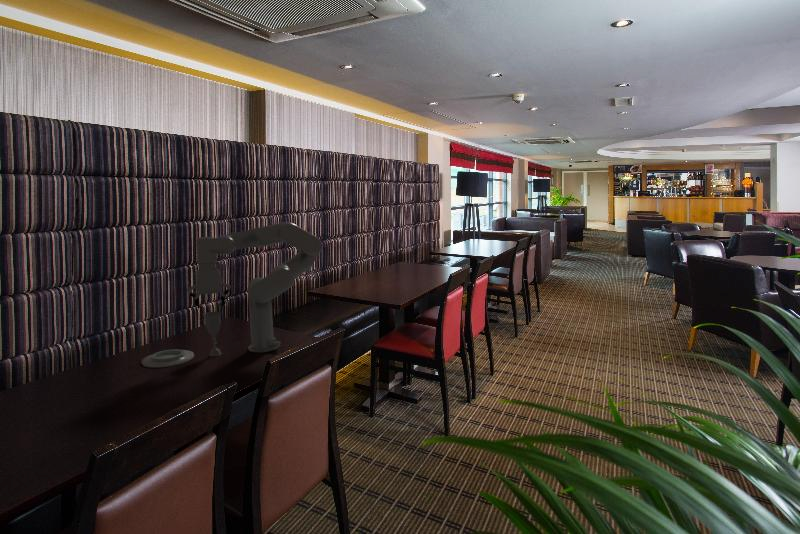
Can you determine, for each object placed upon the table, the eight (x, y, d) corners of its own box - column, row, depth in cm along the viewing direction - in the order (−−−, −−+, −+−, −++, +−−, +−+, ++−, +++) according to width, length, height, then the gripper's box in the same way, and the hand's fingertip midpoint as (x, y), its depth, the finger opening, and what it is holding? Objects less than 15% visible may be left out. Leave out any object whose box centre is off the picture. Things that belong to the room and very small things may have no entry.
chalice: (227, 352, 219) (224, 311, 216) (220, 357, 212) (216, 315, 209) (211, 351, 220) (207, 311, 217) (203, 357, 213) (199, 315, 210)
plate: (204, 354, 217) (204, 348, 216) (168, 369, 198) (167, 364, 198) (168, 350, 224) (167, 345, 223) (130, 364, 205) (129, 359, 205)
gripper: (228, 264, 217) (231, 303, 220) (185, 267, 210) (188, 307, 212) (230, 266, 210) (233, 306, 213) (185, 269, 203) (188, 310, 206)
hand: (210, 306), depth 213 cm, fingers open, 9 cm apart
